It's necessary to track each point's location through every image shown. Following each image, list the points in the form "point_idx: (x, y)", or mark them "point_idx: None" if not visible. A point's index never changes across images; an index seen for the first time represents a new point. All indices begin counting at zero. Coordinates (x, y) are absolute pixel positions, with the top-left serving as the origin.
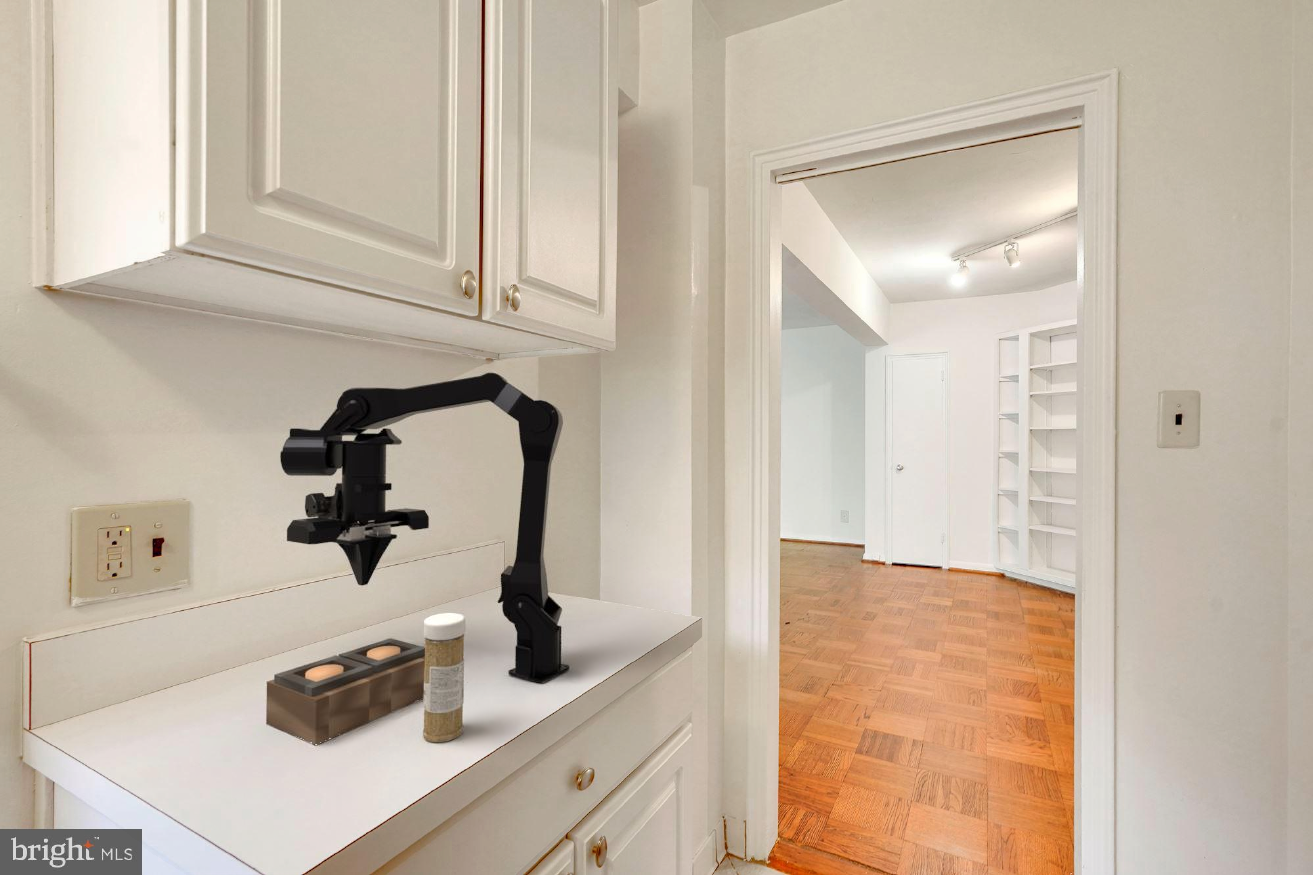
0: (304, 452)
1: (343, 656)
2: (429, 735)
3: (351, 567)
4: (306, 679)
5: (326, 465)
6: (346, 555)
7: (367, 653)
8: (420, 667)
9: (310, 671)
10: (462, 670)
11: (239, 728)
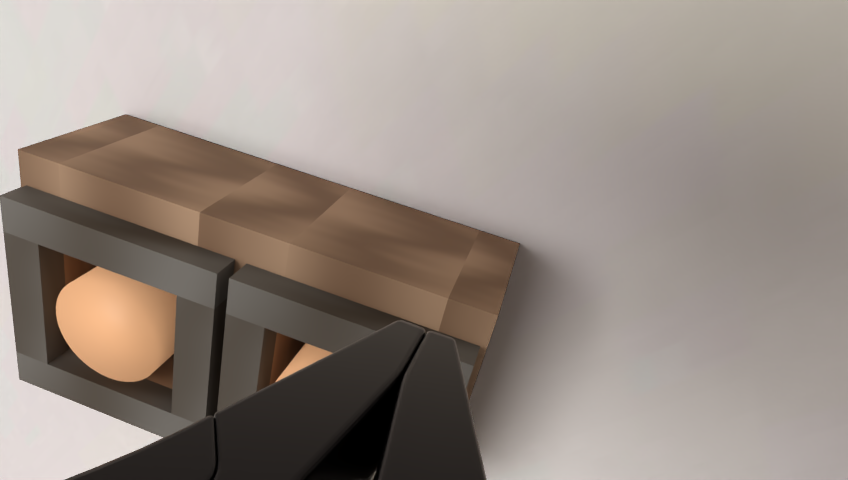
0: None
1: (229, 302)
2: None
3: (265, 388)
4: (40, 325)
5: None
6: (84, 475)
7: (283, 374)
8: None
9: (79, 293)
10: None
11: (77, 59)
